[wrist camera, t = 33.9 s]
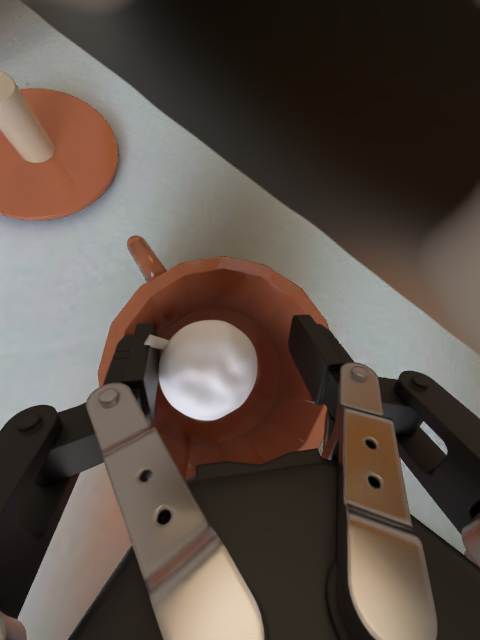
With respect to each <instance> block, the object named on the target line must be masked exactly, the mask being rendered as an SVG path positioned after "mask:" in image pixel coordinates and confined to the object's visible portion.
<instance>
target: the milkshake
mask: <svg viewBox="0 0 480 640" xmlns="http://www.w3.org/2000/svg"><path fill="white" fill-rule="evenodd" d="M149 345H150V346H151V347H152V348H157V349H161V350H163V352H162V355H161V358H160V361H159V367H158V376H159V382H160V386H161V389H162V391H163V394H164V396H165V397H166V399H167V400H168V402H169V403H170V404H171V405H172V406H173V407H174V408H175V409H177V410H178V411H180V412H181V413H183V414H185V415H186V416H189V417H191V418H194V419H197V420H207V421H209V420H216V419H219V418H221V417H223V416H225V415H227V414H229V413H231V412H232V411H234V410H236V409H237V408H239V407H240V406H241V405H242V404H243V403H244V402H245V400H246V399H247V397H248V396H249V394H250V392H251V391H252V389H253V386H254V384H255V381H256V376H257V356H256V351H255V349H254V346H253V344H252V343H251V341H250V340H249V338H248V337H247V336H246V335H245V334H244V333H243V332H242V331H240V330H239V329H238V328H236V327H235V326H233V325H231V324H229V323H227V322H224V321H220V320H204V321H198V322H194V323H191V324H189V325H187V326H185V327H183V328H182V329H180V330H179V331H178V332H177V333H176V334H175V335H174V336H173V337H172V338H171V339H170V340H166V339H163V338H160V337H157V336H154V335H149V337H148V338H147V340H146V341H145V343H144V346H149Z"/></svg>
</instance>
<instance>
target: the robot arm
mask: <svg viewBox="0 0 480 640" xmlns="http://www.w3.org/2000/svg"><path fill="white" fill-rule="evenodd" d="M149 335H154V336H157V337H158V334H157V328H156V323H155V322H150V323H137V326H136V330H135V333H134V335H125V336H124V337H123V338H122V339H121V340H120V341H119V342H118V343H117V346H116V349H115V353H114V355H113V357H112V360H111V363H110V366H109V369H108V372H107V374H106V377H105V380H104V383H103V386H101V387H99V388H98V389H96V390H95V391H93V392H92V393H91V394H90V396H89V397H88V399H87V402H86V403H84V404H82V405H79V406H77V407H74V408H70V409H67V410H64V411H61V412H58V413H57V411H56V410H55V408H53V407H52V406H49V405H38V406H33V407H30V408H27V409H25V410H23V411H21V412H19V413H18V414H16V415H15V416H13V417H12V418H11V419H10V420H9V421H8V422H7V423H6V424H5V425H4V427H3V428H2V429H1V431H0V640H27V635H26V630H25V627H24V626H23V624H22V623H21V622H20V621H18V620H17V618H18V616H19V613H20V611H21V609H22V606H23V604H24V602H25V599H26V597H27V595H28V593H29V590H30V588H31V586H32V583H33V581H34V579H35V576H36V574H37V572H38V569H39V567H40V565H41V562H42V560H43V558H44V555H45V553H46V551H47V548H48V546H49V544H50V541H51V539H52V537H53V534H54V532H55V530H56V527H57V525H58V523H59V521H60V518H61V516H62V514H63V511H64V509H65V507H66V504H67V502H68V500H69V497H70V495H71V493H72V490H73V488H74V486H75V483H76V481H77V479H78V476H79V474H80V472H82V471H85V470H87V469H89V468H92V467H94V466H96V465H99V464H101V463H103V462H104V463H105V466H106V469H107V472H108V475H109V478H110V481H111V484H112V487H113V490H114V493H115V496H116V499H117V502H118V505H119V508H120V511H121V513H122V516H123V519H124V522H125V525H126V528H127V531H128V534H129V537H130V540H131V543H132V546H131V547H130V549H129V550H128V552H127V553H126V554H125V556H124V557H123V559H122V560H121V562H120V563H119V565H118V566H117V568H116V569H115V571H114V572H113V574H112V575H111V577H110V578H109V579H108V581H107V582H106V584H105V585H104V587H103V588H102V590H101V591H100V593H99V594H98V596H97V597H96V599H95V600H94V602H93V603H92V605H91V606H90V607H89V609H88V610H87V612H86V613H85V615H84V616H83V618H82V619H81V621H80V622H79V624H78V625H77V627H76V628H75V630H74V631H73V633H72V634H71V635H70V637H69V638H68V640H480V419H479V418H478V417H477V416H476V415H475V414H473V413H472V412H471V411H470V410H469V409H467V408H466V407H465V406H464V405H463V404H461V403H460V402H459V401H458V400H457V399H455V398H454V397H453V396H452V395H451V394H450V393H448V392H447V391H446V390H445V389H444V388H442V387H441V386H440V385H439V384H438V383H436V382H435V381H434V380H433V379H431V378H430V377H428V376H426V375H424V374H422V373H419V372H415V371H404V372H402V373H401V374H400V376H399V378H398V380H395V379H388V378H382V377H378V376H377V375H376V373H375V372H374V371H373V370H372V369H371V368H369V367H367V366H365V365H363V364H360V363H355V362H354V361H353V360H352V358H351V357H350V356H349V355H348V353H347V352H346V351H345V349H344V348H343V347H342V346H341V344H339V342H338V340H337V339H336V338H335V337H334V335H333V334H332V333H331V331H330V330H329V329H327V328H326V327H324V326H323V325H321V324H317V323H316V322H315V321H314V319H313V318H312V316H311V315H309V314H306V315H294V316H293V318H292V322H291V328H290V333H289V339H288V349H289V353H290V355H291V357H292V359H293V361H294V363H295V365H296V367H297V369H298V371H299V373H300V375H301V377H302V379H303V381H304V383H305V385H306V387H307V389H308V391H309V393H310V395H311V397H312V399H313V401H314V403H315V405H316V406H317V405H326V407H327V411H326V415H325V428H324V442H323V453H322V458H321V455H320V453H319V451H318V448H315V449H308V450H301V451H293V452H288V453H286V454H284V455H282V456H279V457H277V458H275V459H273V460H270V461H268V462H266V463H263V464H250V463H242V462H234V461H222V462H215V463H208V464H201V465H196V475H195V476H193V477H191V478H189V479H187V480H184V478H183V476H182V474H181V473H180V471H179V469H178V467H177V465H176V464H175V462H174V460H173V458H172V456H171V455H170V453H169V451H168V449H167V447H166V446H165V444H164V442H163V440H162V438H161V437H160V435H159V433H158V431H157V430H156V428H155V427H154V426H152V427H151V426H150V424H151V423H153V417H154V409H155V401H156V393H157V385H158V377H159V376H158V367H159V361H160V349H157V348H152V347H151V346H150V345H149V346H144V343H145V341H146V340H147V338H148V337H149ZM423 421H424V422H425V423H426V424H427V425H428V426H429V427H430V428H431V429H432V430H433V431H434V432H435V433H436V434H437V435H438V436H439V437H440V438H441V439H442V440H443V441H444V443H445V444H446V447H447V450H448V453H447V456H446V454H445V453H444V452H443V451H442V450H441V449H440V448H439V447H438V446H437V445H436V444H435V443H434V442H433V441H432V440H431V439H430V438H429V436H428V435H427V434H426V433H425V432H424V431H423V430H422V429H421V428H420V425H421V424H422V422H423ZM400 458H401V459H402V460H403V462H404V463H405V464H406V465H407V467H408V468H409V469H410V471H411V472H412V473H413V474H414V476H415V477H416V478H417V479H418V481H419V482H420V483H421V484H422V486H423V487H424V488H425V490H426V491H427V492H428V493H429V495H430V496H431V497H432V498H433V500H434V501H435V502H436V503H437V505H438V506H439V507H440V509H441V510H442V511H443V512H444V514H445V515H446V516H447V517H448V519H449V520H450V521H451V522H452V524H453V525H454V526H455V527H456V529H457V530H458V531H459V533H460V534H461V535H462V540H463V544H464V546H465V548H466V551H465V553H464V555H463V554H462V553H461V552H459V551H458V550H457V549H455V548H454V547H453V546H451V545H450V544H449V543H448V542H446V541H445V540H444V539H442V538H441V537H440V536H438V535H437V534H436V533H434V532H433V531H432V530H431V529H429V528H428V527H427V526H425V525H424V524H423V523H421V522H420V521H419V520H417V519H416V518H415V517H414V516H412V515H411V514H410V512H409V507H408V501H407V496H406V490H405V484H404V479H403V473H402V468H401V462H400Z"/></svg>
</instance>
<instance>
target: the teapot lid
mask: <svg viewBox="0 0 480 640" xmlns="http://www.w3.org/2000/svg"><path fill="white" fill-rule="evenodd" d="M118 157H119V154H118V146H117V142H116V139H115V136H114V134H113V131H112V129H111V127H110V126H109V124H108V123H107V121H106V120H105V119H104V118H103V116H102V115H101V114H100V113H99V112H98V111H97V110H96V109H94V108H93V107H92V106H90V105H89V104H88V103H86V102H84V101H82V100H80V99H79V98H76V97H74V96H72V95H69V94H66V93H63V92H59V91H54V90H48V89H19V88H18V86H17V85H16V83H15V82H14V80H13V79H12V78H11V77H10V76H9V75H8V74H7V73H5V72H3V71H0V214H1V215H4V216H8V217H11V218H16V219H22V220H49V219H55V218H60V217H64V216H67V215H70V214H73V213H75V212H78V211H80V210H82V209H84V208H85V207H87V206H89V205H90V204H92V203H93V202H94V201H96V200H97V199H98V198H99V197H100V196H101V195H102V194H103V193H104V192H105V191H106V189H107V188H108V187H109V185H110V184H111V182H112V180H113V178H114V176H115V173H116V170H117V166H118Z"/></svg>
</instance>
